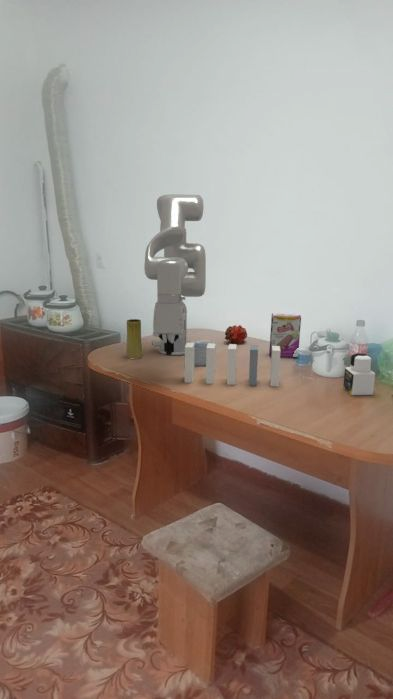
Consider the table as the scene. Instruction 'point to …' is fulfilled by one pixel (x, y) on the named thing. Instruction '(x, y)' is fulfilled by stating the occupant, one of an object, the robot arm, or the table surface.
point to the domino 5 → (275, 366)
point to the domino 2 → (210, 363)
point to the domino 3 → (231, 364)
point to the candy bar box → (285, 333)
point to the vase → (134, 338)
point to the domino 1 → (189, 362)
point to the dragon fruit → (236, 334)
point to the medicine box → (200, 352)
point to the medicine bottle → (359, 375)
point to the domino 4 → (253, 365)
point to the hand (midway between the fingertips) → (169, 353)
